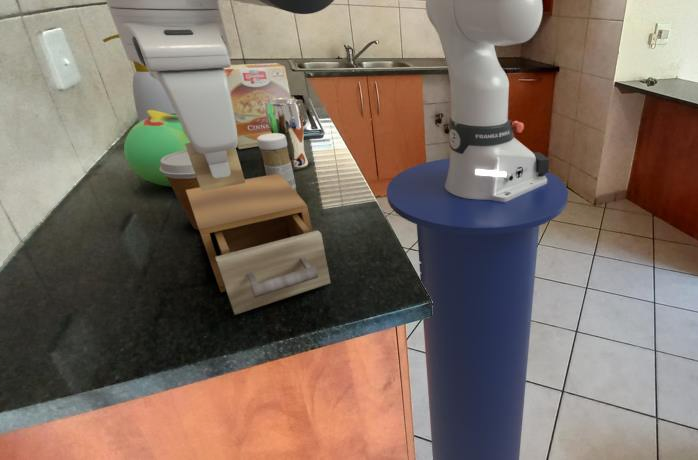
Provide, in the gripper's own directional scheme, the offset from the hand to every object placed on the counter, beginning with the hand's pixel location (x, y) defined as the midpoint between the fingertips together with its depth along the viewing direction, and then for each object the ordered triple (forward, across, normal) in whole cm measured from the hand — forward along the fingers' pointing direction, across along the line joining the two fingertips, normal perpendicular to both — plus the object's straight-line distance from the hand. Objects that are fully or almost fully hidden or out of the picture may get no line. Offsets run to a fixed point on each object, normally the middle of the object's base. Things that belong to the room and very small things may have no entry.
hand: (217, 168), depth 50 cm
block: (+2, 0, 0) cm, 2 cm away
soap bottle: (+18, -74, -4) cm, 76 cm away
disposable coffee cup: (+18, -25, -2) cm, 31 cm away
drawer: (+17, +1, +3) cm, 17 cm away
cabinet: (+18, -9, +2) cm, 20 cm away
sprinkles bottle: (+18, -26, +10) cm, 33 cm away
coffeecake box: (+18, -70, +16) cm, 74 cm away
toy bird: (+18, -48, -3) cm, 51 cm away
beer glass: (+18, -47, +17) cm, 53 cm away
